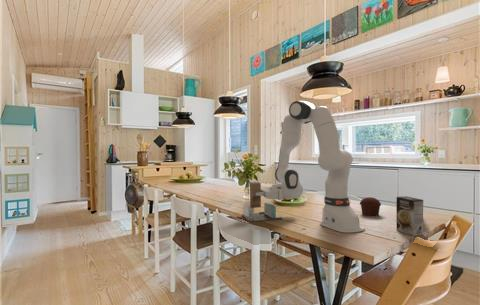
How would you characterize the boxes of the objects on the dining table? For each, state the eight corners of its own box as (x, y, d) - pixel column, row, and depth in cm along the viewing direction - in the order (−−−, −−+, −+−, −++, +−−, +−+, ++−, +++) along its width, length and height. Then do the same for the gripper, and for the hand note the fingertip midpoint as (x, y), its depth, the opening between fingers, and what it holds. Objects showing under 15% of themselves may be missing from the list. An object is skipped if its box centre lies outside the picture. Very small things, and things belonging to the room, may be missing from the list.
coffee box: (395, 230, 128) (395, 196, 128) (405, 228, 130) (405, 195, 130) (413, 236, 119) (413, 200, 119) (423, 234, 121) (423, 199, 121)
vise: (282, 219, 150) (282, 207, 150) (248, 222, 146) (248, 209, 146) (272, 212, 166) (272, 201, 166) (241, 215, 161) (241, 203, 161)
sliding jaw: (275, 217, 151) (275, 206, 151) (270, 218, 151) (270, 206, 151) (268, 212, 163) (268, 202, 163) (264, 213, 162) (263, 202, 162)
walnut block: (260, 207, 153) (260, 183, 153) (252, 207, 152) (252, 183, 152) (258, 205, 158) (258, 181, 158) (250, 205, 157) (249, 182, 157)
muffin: (367, 217, 151) (367, 200, 151) (355, 213, 162) (355, 196, 162) (385, 216, 154) (385, 199, 154) (372, 211, 165) (372, 195, 165)
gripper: (270, 184, 168) (249, 185, 165) (282, 189, 148) (259, 190, 145) (270, 194, 168) (249, 195, 165) (282, 200, 148) (259, 201, 145)
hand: (253, 193), depth 155 cm, fingers closed on walnut block, 5 cm apart
